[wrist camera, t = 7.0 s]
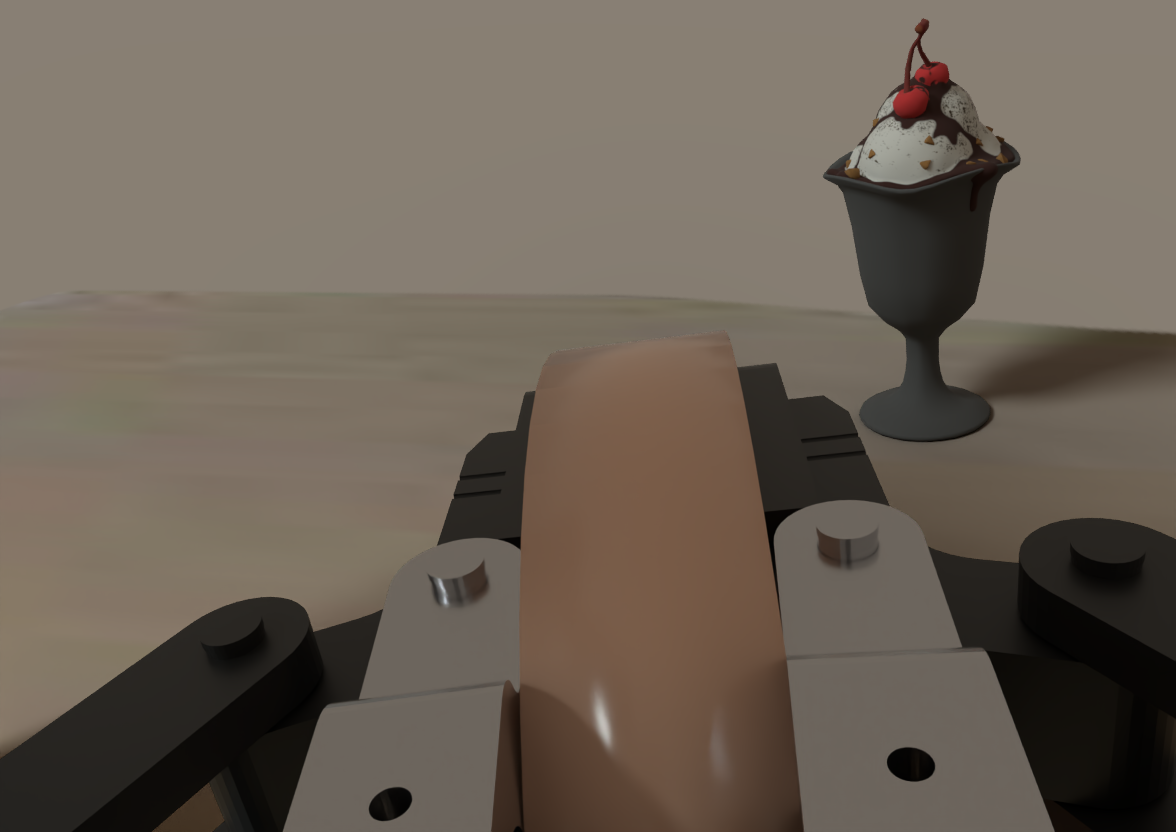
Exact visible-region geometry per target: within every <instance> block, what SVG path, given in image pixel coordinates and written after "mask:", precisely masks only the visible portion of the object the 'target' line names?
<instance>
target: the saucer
mask: <svg viewBox="0 0 1176 832" xmlns="http://www.w3.org/2000/svg"><path fill="white" fill-rule="evenodd" d="M519 645H520V726H521V755H522V785H523V814H524V832H803V829H802V820H801V812H800V807H799V796H798V785H797V774H796V762H795V751H794V740H793V729H792V718H791V707H790V696H789V685H788V674H787V663H786V652H785V646H784V639H783V632H782V625H781V619H780V612H779V605H778V599H777V592H776V586H775V579H774V573H773V567H772V560H771V554H770V548H769V541H768V535H767V529H766V522H765V516H764V510H763V504H762V498H761V493H760V487H759V481H758V475H757V469H756V463H755V457H754V451H753V446H752V441H751V435H750V430H749V424H748V419H747V414H746V408H745V403H744V398H743V393H742V388H741V384H740V379H739V374H738V369H737V365H736V361H735V357H734V353H733V349H732V345H731V342H730V339H729V337H728V334H727V332H726V331H724V330H723V331H715V332H707V333H698V334H690V335H682V336H674V337H665V338H657V339H649V340H641V341H632V342H624V343H616V344H608V345H599V346H591V347H583V348H575V349H566V350H558V351H556V352H553V353H551V354H550V355H549V357H548V359H547V360H546V362H545V364H544V365H543V368H542V371H541V375H540V378H539V381H538V385H537V388H536V392H535V398H534V404H533V410H532V415H531V421H530V428H529V437H528V447H527V457H526V466H525V476H524V494H523V512H522V530H521V561H520V610H519Z"/></svg>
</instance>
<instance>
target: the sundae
mask: <svg viewBox="0 0 1176 832" xmlns="http://www.w3.org/2000/svg"><path fill="white" fill-rule="evenodd" d="M928 27H929V21H928V20H926V19H922V20H921V22H920V23H919V24H918V25H917V26H916V28H915V31H916V32H917V33H919V35H918V38H917V39H916V40H915V42H914V43H913V45H912V47H911V49H910V51H909V55H908V59H907V63H906V68H905V81H904V83H903V84H901V85H899V86H898V87H897V88H896V89H894V90H893V91H892V92H891V93H890V94H889V96H888V98H887V99H886V100H885V102H884V103H883V105H882V106H881V108H880V109H879V111H878V114H877V117H876V119H875V120H873V128H872V129H871V131H870V133H869V134H868V136H867V137H865V138H864V139H863V140H862V141H861V142H860V143H859V144H858V145H857V147H856V148H855V150H854V151H852V152H850V153H848V154H846V155H845V156H843V157H841V158H840V159H838V160H837V161H836V162H835V163H834V164H832V165H831V166H830V168H829V169H828V170H827V171H826V172H825V173H824V175H823V177H824V178H825V179H826V180H828V181H830V182H832V183H834V184H836V185H838V186H839V188H840V189H841V191H842V192H843V194H844V198H845V202H846V206H847V210H848V214H849V217H850V221H851V225H852V230H853V236H854V242H855V247H856V253H857V259H858V265H859V270H860V276H861V279H862V283H863V287H864V290H865V294H866V298H867V302H868V305H869V306H870V307H871V309H872V310H873V311H874V312H875V313H876V314H878V315H879V317H880V318H881V319H882V320H884V321H885V322H886V323H887V324H889V325H891V326H892V327H894V328H896V329H898V330H899V331H900V332H901V333H902V334H903V335H904V337H905V338H906V354H907V361H906V371H905V376H904V380H903V383H902V384H901V386H900V387H896V388H893V389H889V390H886V391H883V392H881V393H878V394H876V395H874V396H872V397H871V398H869V399H868V400H867V401H865V402H864V404H863V405H862V407H861V410H860V414H859V416H860V418H861V420H862V422H863V423H864V424H865V425H866V426H867V427H868V428H870V429H871V430H873V431H875V432H877V433H879V434H881V435H884V436H887V437H891V438H895V439H900V440H908V441H937V440H945V439H951V438H956V437H959V436H962V435H965V434H968V433H970V432H973V431H975V430H976V429H978V428H979V427H981V426H982V425H983V424H984V423H985V422H986V421H987V420H988V419H989V416H990V407H989V405H988V404H987V403H986V401H985V400H984V399H983V398H981V397H980V396H978V395H976V394H974V393H972V392H970V391H967V390H965V389H962V388H958V387H954V386H948V385H946V384H945V383H944V381H943V379H942V375H941V372H940V365H939V337H940V335H941V334H942V333H943V331H944V330H945V329H946V328H947V327H949V326H950V325H952V324H953V323H955V322H956V321H958V320H959V319H960V318H961V317H962V316H963V315H964V314H965V313H966V311H967V310H968V309H969V308H970V307H971V306H972V305H973V304H974V303H975V300H976V296H977V291H978V287H979V283H980V278H981V274H982V269H983V264H984V257H985V249H986V241H987V233H988V226H989V217H990V211H991V207H992V203H993V199H994V195H995V190H996V186H997V183H998V182H999V180H1000V179H1001V177H1002V176H1003V175H1004V174H1005V173H1007V172H1009V171H1010V170H1012V169H1013V168H1015V167H1016V166H1018V165H1019V164H1020V156H1019V153H1018V152H1017V151H1016V150H1015V149H1014V148H1013V147H1012V146H1011V145H1009V144H1008V143H1006V142H1005V141H1004V138H1001V137H999V136H994V135H993V133H992V131H993V129H992V128H990V127H988V126H986V127H985V126H984V125H983V124H982V123H981V122H979V118H978V114H977V111H976V108H975V106H974V104H973V102H972V100H971V98H970V96H969V94H968V93H967V92H966V91H965V90H964V89H963V88H961V87H960V86H959V85H957V84H956V83H954V82H952V81H951V80H950V79H949V71H948V68H947V65H945V64H943V63H940V62H930V61H929V60H928V58H927V57H926V55H925V53H924V52H923V50H922V47H921V41H920V40H921V38H922V36H923V34H924V33H925V32H926V31H927V29H928ZM916 45H917V47H918V51H919V53H920V56H921V58H922V59H923V61H924V63H925V64H923V65H922V66H921V67H920V68H919V69H918V70H917V71H916V73H915V76H914V77H913V78H912V79H911V80H910V71H911V63H912V57H913V53H914V48H915V47H916Z"/></svg>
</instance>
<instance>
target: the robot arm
mask: <svg viewBox="0 0 1176 832" xmlns="http://www.w3.org/2000/svg"><path fill="white" fill-rule="evenodd" d="M737 369H738V374H739V379H740V384H741V388H742V393H743V398H744V403H745V408H746V414H747V419H748V424H749V430H750V435H751V441H752V446H753V451H754V457H755V463H756V469H757V475H758V481H759V487H760V493H761V498H762V504H763V510H764V516H765V522H766V529H767V535H768V541H769V548H770V554H771V560H772V567H773V573H774V579H775V586H776V592H777V599H778V605H779V612H780V619H781V625H782V632H783V639H784V646H785V652H786V663H787V674H788V685H789V696H790V707H791V718H792V729H793V740H794V751H795V762H796V774H797V785H798V796H799V807H800V812H801V820H802V829H803V832H1176V539H1174V538H1172V537H1170V536H1167V535H1165V534H1163V533H1161V532H1158V531H1156V530H1153V529H1150V528H1148V527H1145V526H1141V525H1138V524H1134V523H1130V522H1125V521H1120V520H1112V519H1103V518H1080V519H1070V520H1063V521H1059V522H1055V523H1051V524H1048V525H1046V526H1043V527H1041V528H1039V529H1037V530H1036V531H1034V532H1032V533H1031V534H1030V535H1029V536H1028V537H1027V538H1026V539H1025V540H1024V542H1023V543H1022V545H1021V547H1020V552H1019V563H1012V562H1001V561H991V560H980V559H972V558H965V557H960V556H955V555H950V554H947V553H944V552H941V551H937V550H935V549H932V548H930V547H928V546H927V543H926V540H925V537H924V534H923V532H922V530H921V528H920V526H919V525H918V524H917V523H916V522H915V521H914V520H913V519H912V518H911V517H909V516H908V515H907V514H905V513H903V512H901V511H899V510H898V509H895V508H892V507H890V506H889V503H888V501H887V499H886V496H885V494H884V492H883V490H882V487H881V485H880V483H879V480H878V478H877V476H876V473H875V471H874V469H873V467H872V464H871V462H870V460H869V457H868V455H866V452H865V448H864V446H863V444H862V441H861V439H860V437H858V432H857V430H856V428H855V425H854V423H853V421H852V418H851V416H850V414H849V412H848V411H847V410H845V409H843V408H842V407H840V406H839V405H837V404H836V403H834V402H833V401H831V400H830V399H828V398H826V397H825V396H815V397H806V398H797V399H789V400H788V398H787V395H786V392H785V388H784V385H783V382H782V379H781V376H780V373H779V370H778V367H777V364H776V363H771V364H763V365H754V366H746V367H737ZM535 392H536V391H532V392H526V393H525V395H524V399H523V403H522V407H521V411H520V415H519V419H518V423H517V428H516V430H515V431H506V432H497V433H489V434H488V435H487V436H486V437H485V438H483V439H482V440H481V441H480V442H479V443H478V444H477V445H476V446H475V447H474V448H473V449H472V450H471V451H470V452H469V453H468V454H467V455H466V458H465V461H464V464H463V467H462V470H461V473H460V481H458V483H457V486H456V489H455V492H454V499H452V501H451V504H450V507H449V510H448V513H447V517H446V520H445V523H444V526H443V529H442V532H441V535H440V538H439V541H438V544H437V546H436V547H433V548H431V549H429V550H426V551H424V552H422V553H420V554H419V555H417V556H416V557H414V558H412V559H411V560H410V561H408V562H407V563H406V564H405V565H403V566H402V567H401V569H400V570H399V571H398V572H397V573H396V574H395V576H394V577H393V579H392V581H391V584H390V586H389V590H388V594H387V597H386V601H385V605H384V609H382V610H380V611H378V612H376V613H373V614H371V615H368V616H365V617H362V618H359V619H356V620H352V621H349V622H346V623H342V624H339V625H336V626H332V627H329V628H326V629H322V630H319V631H316V632H313V629H312V626H311V623H310V620H309V617H308V614H307V612H306V610H305V609H304V608H303V607H302V606H301V605H300V604H298V603H297V602H294V601H292V600H289V599H285V598H278V597H261V598H254V599H248V600H243V601H239V602H236V603H233V604H230V605H227V606H224V607H221V608H219V609H217V610H214V611H212V612H210V613H208V614H206V615H204V616H203V617H201V618H199V619H198V620H196V621H194V622H193V623H191V624H190V625H188V626H187V627H186V628H184V629H183V630H181V631H180V632H179V633H177V634H176V635H174V636H173V637H172V638H170V639H169V640H167V641H166V642H164V643H163V644H162V645H160V646H159V647H157V648H156V649H155V650H153V651H152V652H150V653H149V654H148V655H146V656H145V657H143V658H142V659H141V660H139V661H138V662H136V663H135V664H134V665H132V666H131V667H129V668H128V669H126V670H125V671H124V672H122V673H121V674H119V675H118V676H117V677H115V678H114V679H112V680H111V681H110V682H108V683H107V684H105V685H104V686H103V687H101V688H100V689H98V690H97V691H96V692H94V693H93V694H91V695H90V696H89V697H87V698H86V699H84V700H83V701H81V702H80V703H79V704H77V705H76V706H74V707H73V708H72V709H70V710H69V711H67V712H66V713H65V714H63V715H62V716H60V717H59V718H58V719H56V720H55V721H53V722H52V723H51V724H49V725H48V726H46V727H45V728H43V729H42V730H41V731H39V732H38V733H36V734H35V735H34V736H32V737H31V738H29V739H28V740H27V741H25V742H24V743H22V744H21V745H20V746H18V747H17V748H15V749H14V750H13V751H11V752H10V753H8V754H7V755H5V756H4V757H3V758H1V759H0V832H152V831H153V830H154V829H155V828H156V827H158V826H159V825H160V824H161V823H162V822H163V821H164V820H166V819H167V818H168V817H169V816H170V815H171V814H173V813H174V812H175V811H176V810H177V809H178V808H180V807H181V806H182V805H183V804H184V803H185V802H186V801H188V800H189V799H190V798H191V797H192V796H193V795H195V794H196V793H197V792H198V791H199V790H200V789H202V788H203V787H204V786H205V785H206V784H207V783H208V782H209V784H210V786H211V789H212V791H213V793H214V796H215V798H216V801H217V803H218V806H219V808H220V810H221V813H222V815H223V818H224V820H225V821H224V822H223V823H222V824H221V825H220V826H218V827H217V828H216V829H215V830H214V831H213V832H524V814H523V785H522V755H521V726H520V645H519V610H520V561H521V530H522V512H523V494H524V476H525V466H526V457H527V447H528V437H529V428H530V421H531V415H532V410H533V404H534V398H535Z"/></svg>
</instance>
